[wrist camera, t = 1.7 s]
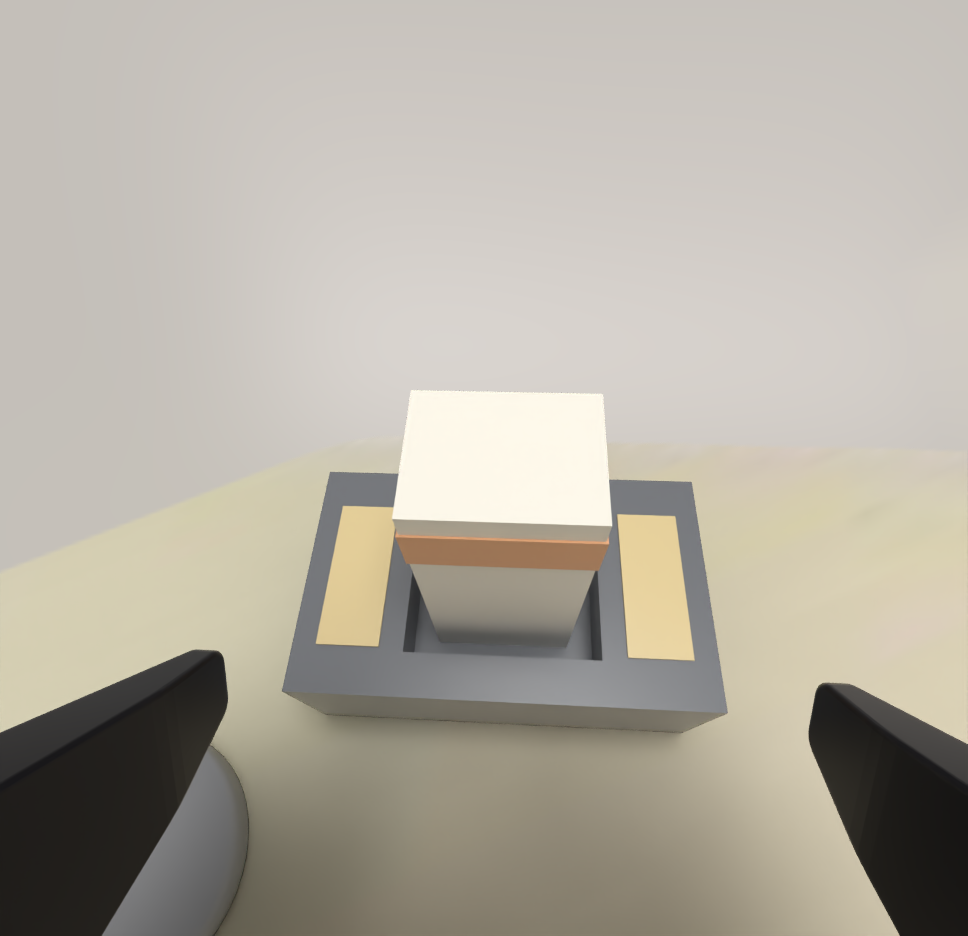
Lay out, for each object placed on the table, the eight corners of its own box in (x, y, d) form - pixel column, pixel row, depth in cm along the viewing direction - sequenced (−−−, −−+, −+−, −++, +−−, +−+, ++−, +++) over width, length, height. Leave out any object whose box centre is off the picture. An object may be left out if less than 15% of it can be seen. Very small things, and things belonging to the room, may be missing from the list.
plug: (568, 649, 18) (615, 528, 10) (438, 643, 18) (388, 521, 10) (565, 556, 19) (605, 392, 12) (446, 552, 20) (408, 388, 12)
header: (682, 732, 19) (728, 712, 15) (326, 714, 19) (281, 690, 16) (659, 538, 22) (692, 480, 18) (359, 528, 23) (329, 470, 19)
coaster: (125, 1075, 15) (90, 1099, 14) (-37, 910, 17) (-81, 918, 16) (294, 807, 18) (278, 807, 17) (140, 693, 20) (115, 685, 19)
